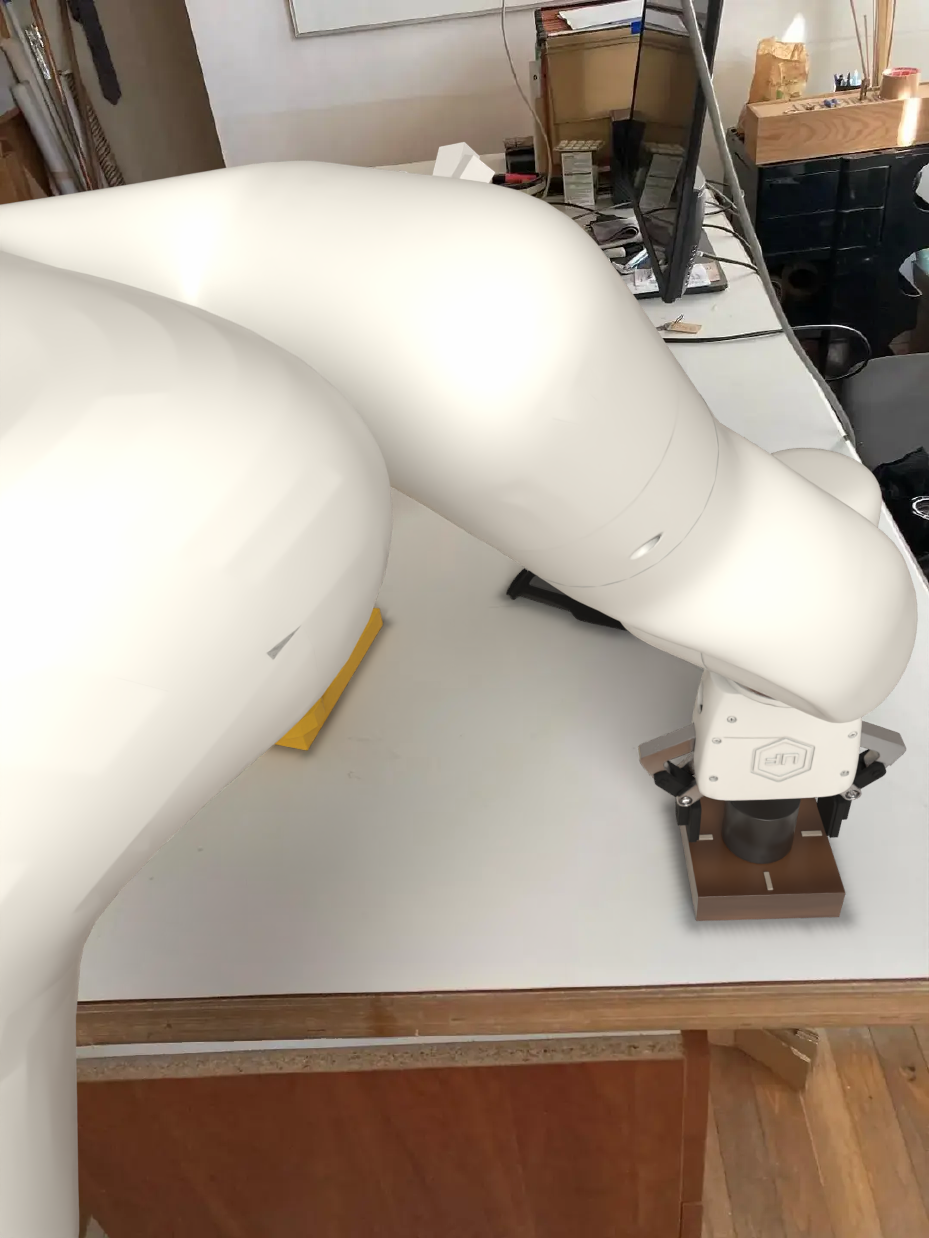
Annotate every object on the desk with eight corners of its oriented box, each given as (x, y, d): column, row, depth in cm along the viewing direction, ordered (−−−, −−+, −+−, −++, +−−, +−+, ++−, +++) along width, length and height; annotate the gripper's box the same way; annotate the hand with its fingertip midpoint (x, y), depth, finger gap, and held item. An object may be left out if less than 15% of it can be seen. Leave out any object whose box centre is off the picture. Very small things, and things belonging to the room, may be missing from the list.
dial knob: (785, 808, 70) (793, 761, 66) (798, 864, 66) (808, 817, 63) (717, 808, 70) (722, 761, 67) (726, 864, 67) (731, 817, 63)
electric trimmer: (637, 648, 90) (637, 623, 88) (504, 599, 98) (502, 575, 96) (654, 626, 92) (656, 601, 90) (523, 580, 100) (521, 556, 98)
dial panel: (839, 917, 66) (846, 891, 64) (695, 921, 67) (698, 895, 65) (805, 805, 73) (810, 779, 71) (676, 810, 74) (678, 784, 72)
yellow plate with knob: (312, 760, 83) (302, 729, 80) (189, 736, 87) (176, 706, 84) (391, 625, 96) (385, 595, 94) (281, 610, 100) (273, 581, 98)
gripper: (647, 698, 54) (642, 871, 65) (955, 682, 53) (898, 863, 64) (634, 616, 60) (632, 788, 71) (911, 600, 58) (866, 779, 69)
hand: (758, 823), depth 67 cm, fingers open, 9 cm apart
